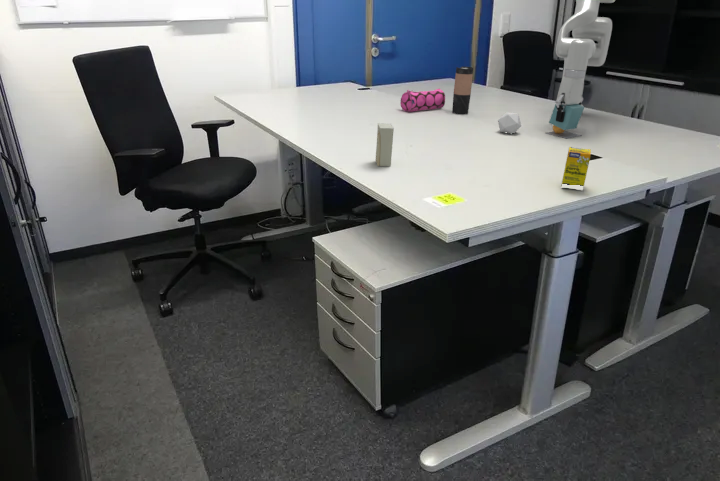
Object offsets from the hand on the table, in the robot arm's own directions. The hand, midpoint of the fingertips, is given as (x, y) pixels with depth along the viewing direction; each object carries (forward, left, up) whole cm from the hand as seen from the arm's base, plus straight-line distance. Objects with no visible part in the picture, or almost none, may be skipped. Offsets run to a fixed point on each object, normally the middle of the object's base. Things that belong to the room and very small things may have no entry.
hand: (565, 120), depth 214 cm
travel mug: (+7, -50, -6) cm, 51 cm away
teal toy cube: (0, -1, -2) cm, 2 cm away
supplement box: (+55, +41, -6) cm, 68 cm away
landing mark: (0, 0, -6) cm, 6 cm away
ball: (0, -2, -3) cm, 4 cm away
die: (+18, -13, -6) cm, 23 cm away
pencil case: (+17, -64, -6) cm, 66 cm away
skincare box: (+88, -5, -6) cm, 88 cm away
